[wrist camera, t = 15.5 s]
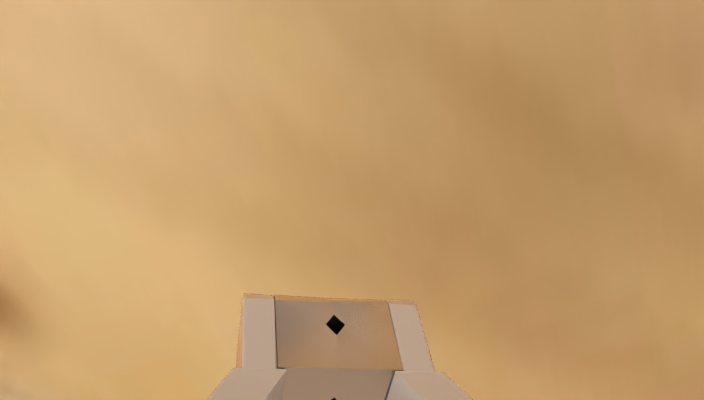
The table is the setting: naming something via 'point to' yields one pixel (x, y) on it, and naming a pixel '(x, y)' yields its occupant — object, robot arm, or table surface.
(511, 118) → the table surface
